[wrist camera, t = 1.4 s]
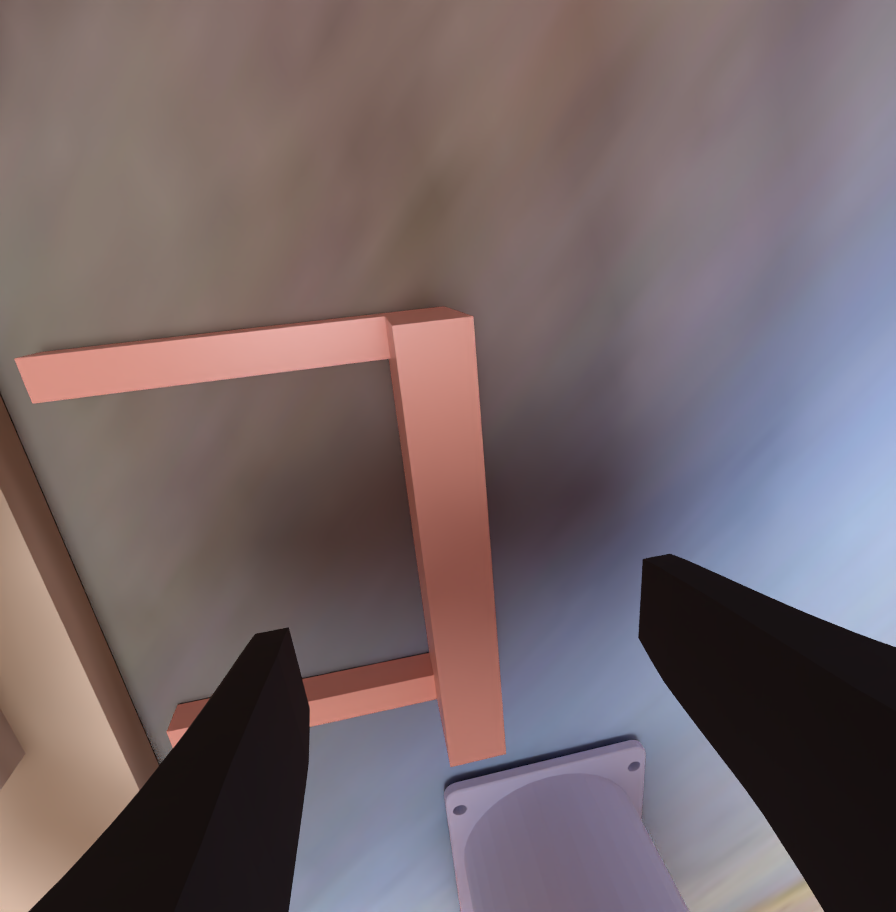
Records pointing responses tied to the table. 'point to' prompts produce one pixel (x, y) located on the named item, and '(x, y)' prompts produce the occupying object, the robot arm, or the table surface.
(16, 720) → the architectural building model
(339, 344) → the u-shaped bracket
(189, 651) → the table surface
